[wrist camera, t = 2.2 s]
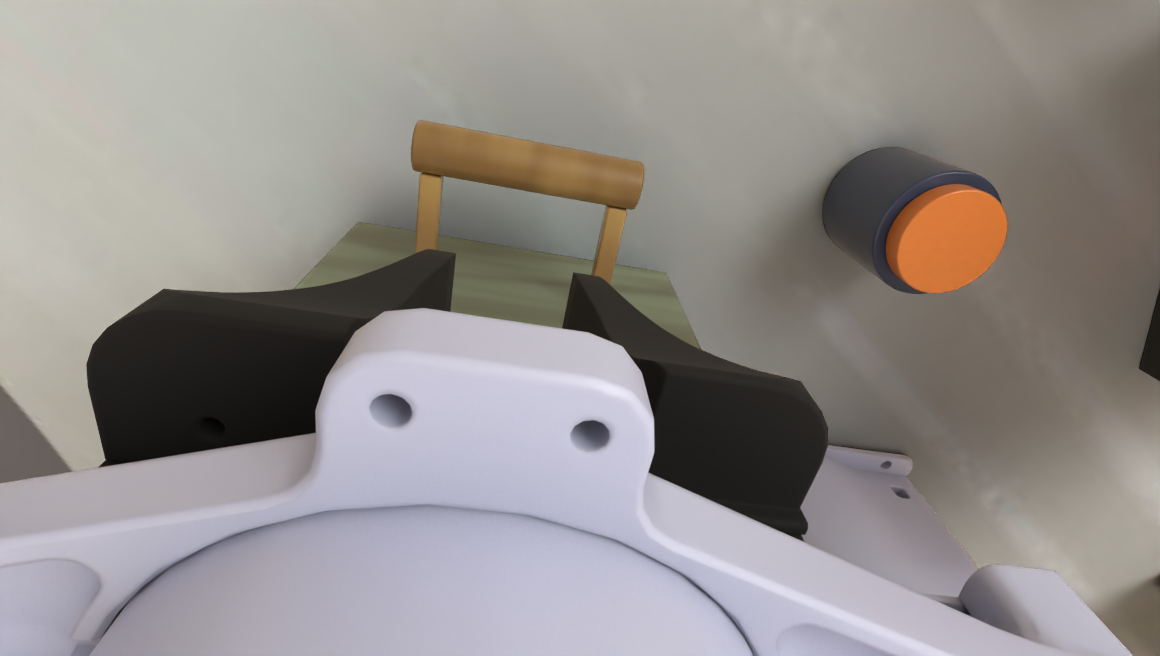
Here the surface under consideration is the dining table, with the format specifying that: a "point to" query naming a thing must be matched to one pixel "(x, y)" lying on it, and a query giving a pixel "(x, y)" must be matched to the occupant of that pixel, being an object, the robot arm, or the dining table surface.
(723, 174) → the dining table surface
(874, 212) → the navy jar orange lid
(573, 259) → the drawer
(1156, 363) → the cleaning product box
